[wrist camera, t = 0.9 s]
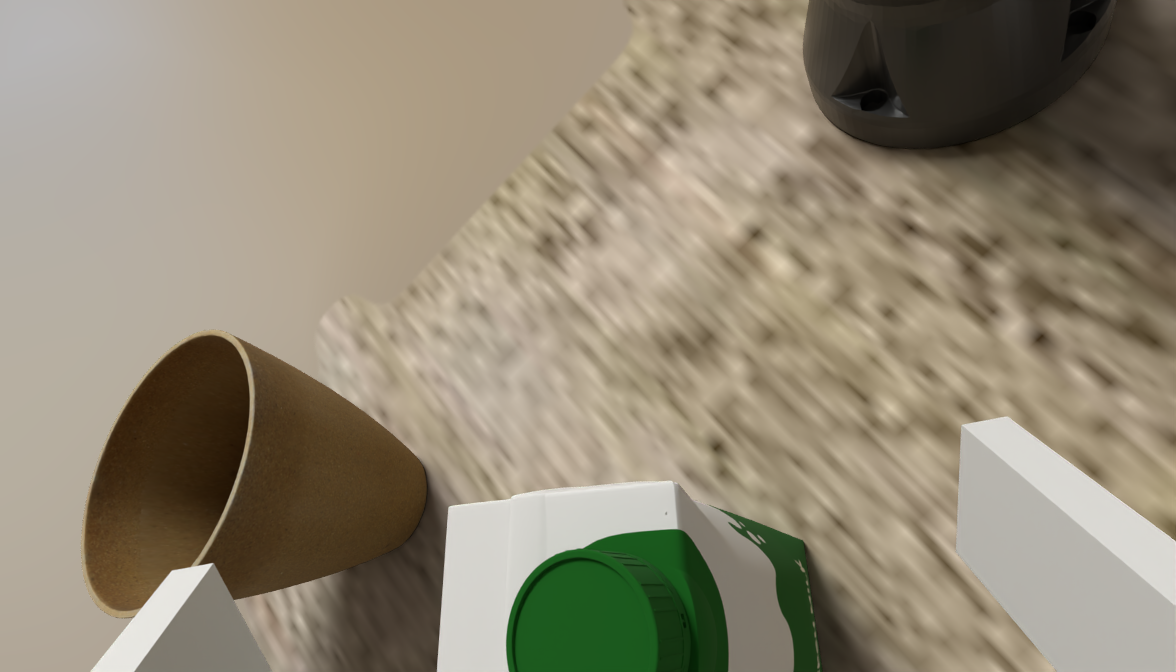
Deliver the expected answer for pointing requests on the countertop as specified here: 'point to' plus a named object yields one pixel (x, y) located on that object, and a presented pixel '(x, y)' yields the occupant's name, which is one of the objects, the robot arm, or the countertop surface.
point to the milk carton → (621, 586)
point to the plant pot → (240, 479)
